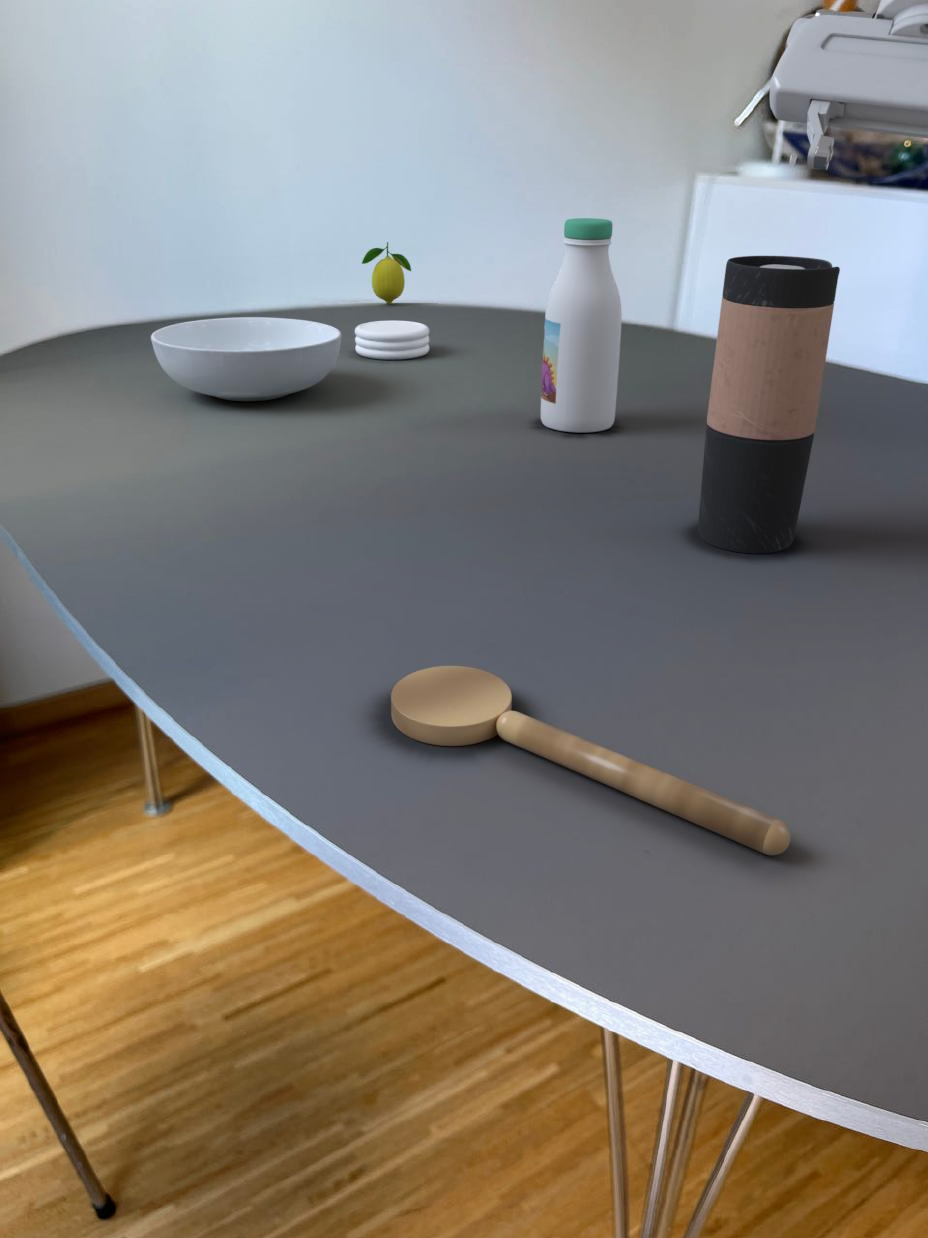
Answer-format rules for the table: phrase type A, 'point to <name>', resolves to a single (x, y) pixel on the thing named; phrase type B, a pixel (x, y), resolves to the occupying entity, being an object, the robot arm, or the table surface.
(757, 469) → the travel mug
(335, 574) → the table surface
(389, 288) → the lemon
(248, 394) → the serving bowl
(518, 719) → the wooden spoon
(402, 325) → the coaster
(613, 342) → the milk bottle
